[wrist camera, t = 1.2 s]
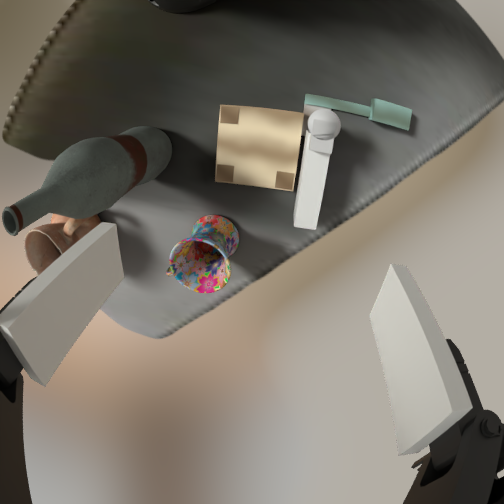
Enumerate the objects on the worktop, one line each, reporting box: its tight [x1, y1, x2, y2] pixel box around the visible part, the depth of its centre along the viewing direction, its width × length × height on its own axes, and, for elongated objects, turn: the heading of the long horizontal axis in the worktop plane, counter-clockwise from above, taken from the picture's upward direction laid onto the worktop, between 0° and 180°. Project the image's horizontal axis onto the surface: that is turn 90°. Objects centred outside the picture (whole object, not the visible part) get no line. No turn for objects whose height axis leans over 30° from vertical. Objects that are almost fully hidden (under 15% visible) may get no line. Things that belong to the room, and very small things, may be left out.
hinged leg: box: [294, 109, 341, 230], centre depth 37 cm, size 17×4×8 cm, turn 175°
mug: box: [166, 215, 239, 293], centre depth 45 cm, size 12×9×11 cm
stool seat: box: [215, 94, 412, 191], centre depth 36 cm, size 16×28×7 cm, turn 85°
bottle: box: [2, 126, 172, 236], centre depth 30 cm, size 9×9×30 cm
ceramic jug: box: [24, 214, 101, 276], centre depth 45 cm, size 18×14×14 cm
